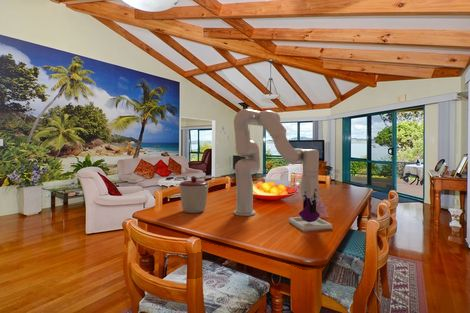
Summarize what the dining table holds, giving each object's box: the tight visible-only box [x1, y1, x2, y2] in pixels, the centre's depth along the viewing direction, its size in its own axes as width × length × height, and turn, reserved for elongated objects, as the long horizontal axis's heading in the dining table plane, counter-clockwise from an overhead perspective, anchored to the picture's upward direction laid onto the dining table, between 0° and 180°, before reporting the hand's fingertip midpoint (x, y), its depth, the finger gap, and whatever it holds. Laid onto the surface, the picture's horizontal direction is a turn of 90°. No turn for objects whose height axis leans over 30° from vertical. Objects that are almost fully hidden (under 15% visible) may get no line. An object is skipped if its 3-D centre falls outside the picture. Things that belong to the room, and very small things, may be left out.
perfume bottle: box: [298, 191, 321, 222], centre depth 127 cm, size 8×8×18 cm
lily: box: [316, 196, 330, 219], centre depth 144 cm, size 12×12×10 cm
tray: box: [288, 216, 333, 233], centre depth 128 cm, size 15×15×2 cm
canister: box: [178, 175, 210, 214], centre depth 153 cm, size 18×18×21 cm
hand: (309, 209), depth 127 cm, fingers closed on perfume bottle, 5 cm apart
